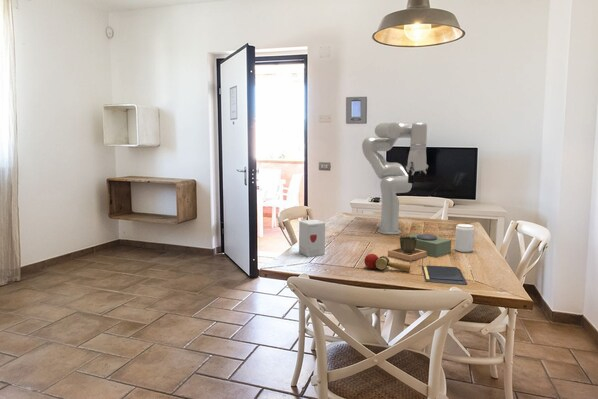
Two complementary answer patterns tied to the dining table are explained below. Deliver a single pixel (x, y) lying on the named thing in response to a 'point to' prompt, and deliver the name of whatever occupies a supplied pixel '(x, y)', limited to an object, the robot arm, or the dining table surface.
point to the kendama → (383, 263)
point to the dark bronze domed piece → (407, 244)
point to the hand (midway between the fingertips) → (416, 182)
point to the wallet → (443, 275)
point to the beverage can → (464, 238)
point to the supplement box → (312, 238)
